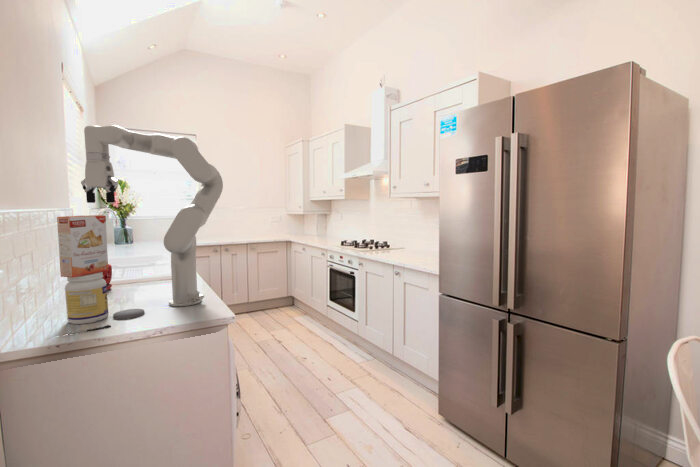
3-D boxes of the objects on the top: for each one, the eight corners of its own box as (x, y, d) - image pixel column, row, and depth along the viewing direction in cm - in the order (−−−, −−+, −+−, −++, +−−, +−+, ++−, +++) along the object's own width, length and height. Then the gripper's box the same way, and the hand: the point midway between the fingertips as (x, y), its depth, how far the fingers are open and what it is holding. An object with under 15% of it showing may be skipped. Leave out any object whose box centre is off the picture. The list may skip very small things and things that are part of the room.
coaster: (150, 312, 140) (150, 309, 140) (127, 320, 130) (127, 317, 130) (130, 310, 143) (130, 307, 143) (106, 318, 133) (106, 315, 133)
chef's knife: (38, 340, 114) (37, 342, 112) (37, 336, 114) (37, 338, 112) (110, 326, 126) (111, 328, 124) (110, 323, 126) (111, 324, 124)
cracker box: (74, 278, 123) (69, 216, 121) (59, 277, 124) (55, 216, 123) (110, 270, 137) (106, 214, 135) (96, 269, 138) (93, 214, 136)
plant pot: (112, 286, 184) (111, 262, 183) (113, 291, 173) (111, 266, 172) (80, 289, 177) (79, 265, 176) (79, 295, 166) (77, 269, 165)
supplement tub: (113, 319, 132) (110, 273, 131) (71, 327, 123) (68, 278, 122) (103, 312, 141) (100, 269, 139) (64, 320, 132) (60, 274, 130)
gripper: (124, 159, 144) (126, 202, 145) (89, 160, 148) (92, 202, 149) (107, 156, 136) (110, 202, 138) (71, 158, 141) (74, 202, 142)
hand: (100, 202), depth 144 cm, fingers open, 9 cm apart
